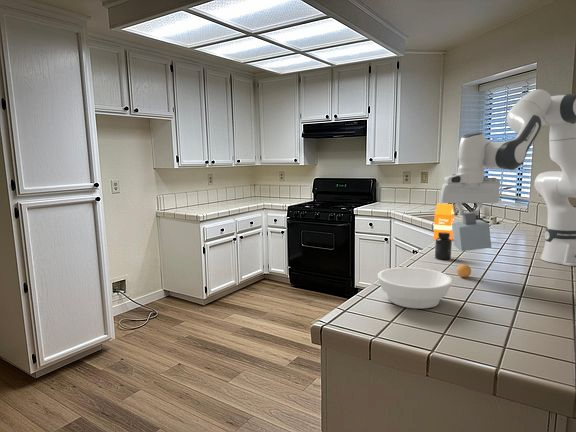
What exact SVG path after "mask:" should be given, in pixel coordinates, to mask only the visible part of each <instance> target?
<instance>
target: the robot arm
mask: <svg viewBox="0 0 576 432" xmlns="http://www.w3.org/2000/svg"><path fill="white" fill-rule="evenodd" d="M506 123H507V126H508V127H509V128H510V130H511V131H513V132H515V133H516V134H517V135H516V136H515V137H514V138H513V139H511V140H506V141H494V142H493V141H491V140H488V139H487V138H486V137H485V134H484V133H483V132H472V133H466V134H464V135H462V136H461V138H460V140H459V147H458V153H457V154H458V156H457V157H458V158H457V159H458V167H457V172H456V173H454V174H450V175H447V176H445V177H444V178H443V182H444V183H443V184H442V185H441V190H440V194H439V196H440V197H439V200H440V202H441V203H442V204H455V206H456V208H457V209H458V216H462V215H464V213H465V210H463V209H462V208H461V207H462V204H476V206H477V207H476V209H474V210H473V211H472V212H474V213H475V216H479V215H480V210H481V209H482V207H483V204H497V203H499V202H500V200H501V197H500V196H501V195H500V194H501V193H500V188H501V181H500V179H498V178H497V177H485V169H500V170H501V169H502V170H509V171H511V170H512V171H513V170H516V169H518V168H519V167H521V165H523V164H524V161H525V159H526V156H527V153H528V151H529V149H530V147H532V145H533V142H534V141H535V140H536V138H537V136H538V135H539V133H540V130H541V128H542V126H549V136H548V137H549V141H548V142H549V144H548V145H549V146H548V147H549V148H548V149H549V158H550V160H551V161H552V162H554V163H556V164H557V165H558V166H559V168H560V169H561V170H551V171H544V172H540V173H539V174H538V175H537V176H536V177H535V180H534V182H533V183H534V184H533V186H534V189H535V191H536V192H537V193H538V194H539V195H541V197H542V199H543V201H544V202H545V206H546V209H547V220H546V221H547V222H546V227H545V231H544V233H545V234H544V246H543V250H542V253H541V255H540V259H541V260H542V261H545V262H548V263H552V264H557V265H558V264H559V265H565V266H568V267H576V207H574V206H573V205H572V204H571V202H570V200H569V198H575V199H576V93H567V94H559V95H551V94H550V93H549V91H547V90H545V89H542V88H541V89H540V88H539V89H538V88H537V89H533V90H531V91H529V92H528V93H526V94H525V95H524V96H522V97H521V98H519V100H517V102H516V103H515V104H514V105H513V106H512V107H511V108H510V110H508V113H507V114H506Z"/></svg>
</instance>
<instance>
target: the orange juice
mask: <svg viewBox="0 0 576 432" xmlns="http://www.w3.org/2000/svg"><path fill="white" fill-rule="evenodd" d="M433 223H434V225H433V240H434V241H436V239H437V238H439V237H438V232H448V233H450V237H449V238H450V239H451V241H452V240H453V231H452V223H455V210H454V203H436V206H435V210H434V221H433ZM453 241H454V240H453Z"/></svg>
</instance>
